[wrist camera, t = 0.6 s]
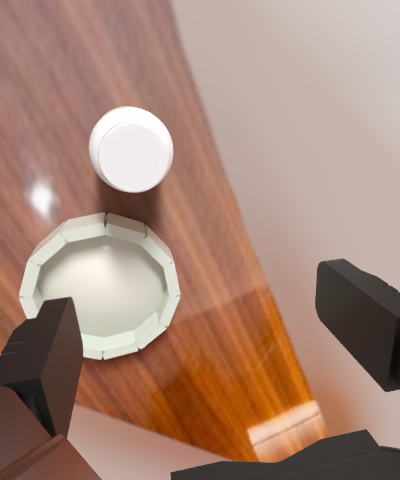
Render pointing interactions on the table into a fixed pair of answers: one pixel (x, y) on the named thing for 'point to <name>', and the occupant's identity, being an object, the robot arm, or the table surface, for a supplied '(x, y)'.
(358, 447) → the robot arm
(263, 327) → the table surface
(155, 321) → the sage bowl
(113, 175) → the supplement bottle
